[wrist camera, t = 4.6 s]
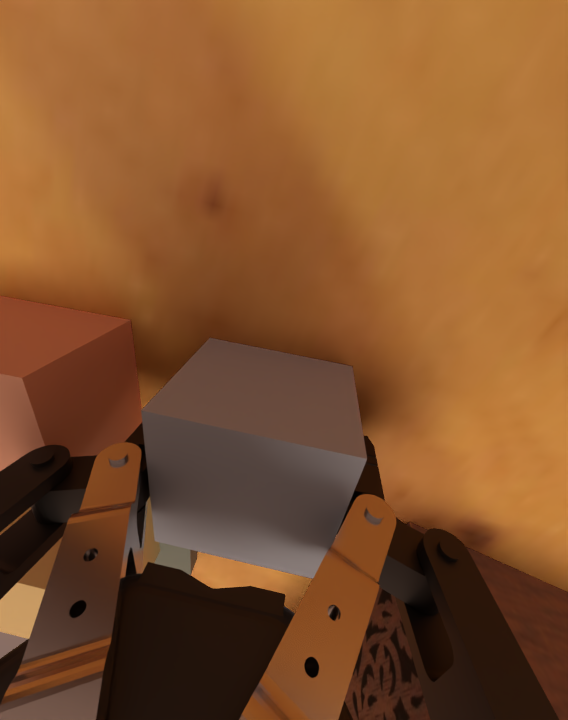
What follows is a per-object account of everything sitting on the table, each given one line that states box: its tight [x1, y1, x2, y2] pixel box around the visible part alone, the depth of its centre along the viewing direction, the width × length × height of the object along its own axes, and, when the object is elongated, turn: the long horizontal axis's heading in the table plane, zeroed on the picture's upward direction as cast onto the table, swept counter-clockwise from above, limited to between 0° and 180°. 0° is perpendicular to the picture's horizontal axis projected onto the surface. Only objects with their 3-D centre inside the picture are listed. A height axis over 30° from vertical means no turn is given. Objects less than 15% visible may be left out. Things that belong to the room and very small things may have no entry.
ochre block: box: [0, 497, 160, 639], centre depth 15 cm, size 6×6×5 cm
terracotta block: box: [0, 296, 142, 471], centre depth 12 cm, size 6×6×5 cm
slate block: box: [141, 338, 367, 579], centre depth 11 cm, size 6×6×5 cm
